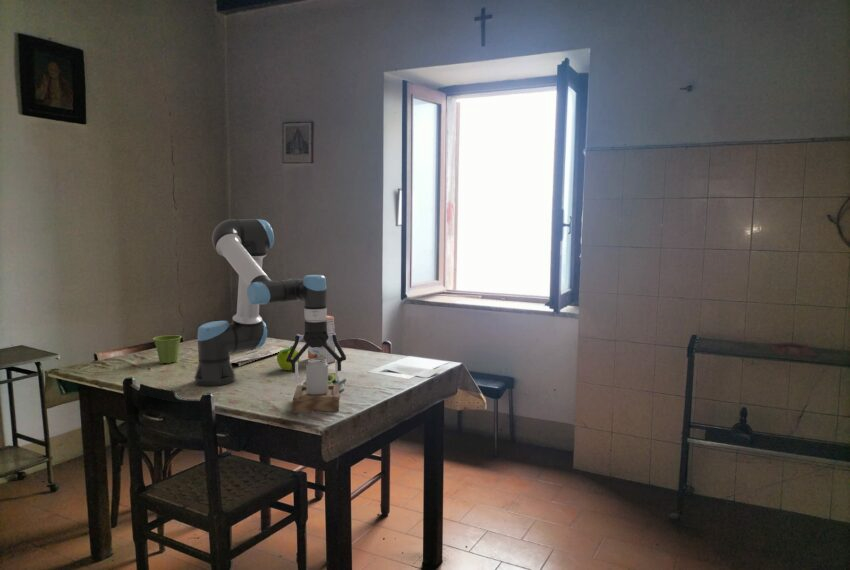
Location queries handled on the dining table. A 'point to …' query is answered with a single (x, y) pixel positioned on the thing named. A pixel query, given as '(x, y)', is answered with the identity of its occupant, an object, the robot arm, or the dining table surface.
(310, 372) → the can
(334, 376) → the salad plate
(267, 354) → the newspaper
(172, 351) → the plant pot
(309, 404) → the wooden tray
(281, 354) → the fruit
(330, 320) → the cracker box
